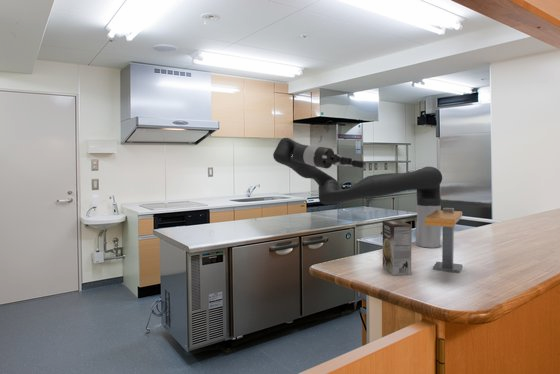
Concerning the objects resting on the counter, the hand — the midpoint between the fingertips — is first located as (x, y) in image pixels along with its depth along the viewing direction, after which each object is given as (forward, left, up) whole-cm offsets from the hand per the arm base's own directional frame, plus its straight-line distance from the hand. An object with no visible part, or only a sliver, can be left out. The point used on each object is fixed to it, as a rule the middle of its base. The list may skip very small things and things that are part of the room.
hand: (357, 163), depth 129 cm
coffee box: (+10, +9, -36) cm, 38 cm away
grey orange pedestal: (+18, +21, -35) cm, 45 cm away
